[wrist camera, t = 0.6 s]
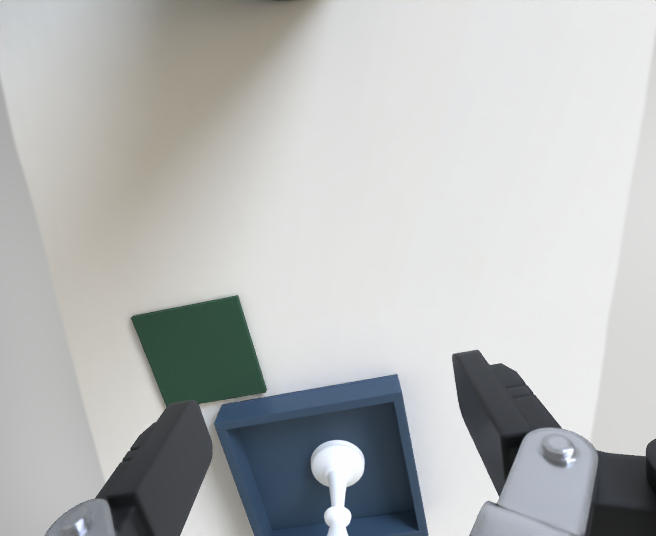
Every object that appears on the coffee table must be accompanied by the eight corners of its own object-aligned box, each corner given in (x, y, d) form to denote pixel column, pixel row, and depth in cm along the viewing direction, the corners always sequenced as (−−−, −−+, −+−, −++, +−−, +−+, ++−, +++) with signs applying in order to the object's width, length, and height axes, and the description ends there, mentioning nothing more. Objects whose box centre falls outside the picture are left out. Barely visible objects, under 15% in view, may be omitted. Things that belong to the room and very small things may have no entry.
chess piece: (334, 491, 37) (333, 611, 28) (299, 458, 36) (286, 571, 27) (375, 464, 36) (389, 580, 27) (341, 430, 35) (342, 537, 26)
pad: (133, 315, 32) (130, 317, 32) (238, 295, 32) (236, 297, 31) (169, 406, 35) (167, 409, 35) (266, 389, 34) (266, 392, 34)
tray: (222, 404, 35) (213, 423, 33) (397, 374, 34) (401, 391, 31) (267, 534, 40) (262, 559, 37) (423, 512, 38) (428, 536, 36)
